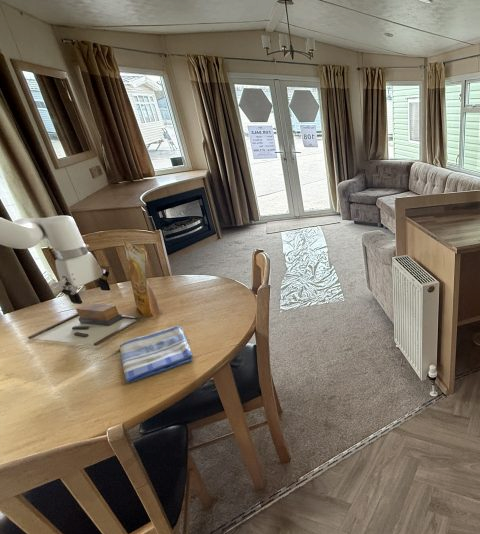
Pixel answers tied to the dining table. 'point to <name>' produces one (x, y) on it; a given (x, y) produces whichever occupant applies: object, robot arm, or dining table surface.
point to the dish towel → (154, 353)
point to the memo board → (83, 331)
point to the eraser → (98, 314)
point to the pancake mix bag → (140, 279)
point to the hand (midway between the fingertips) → (92, 296)
